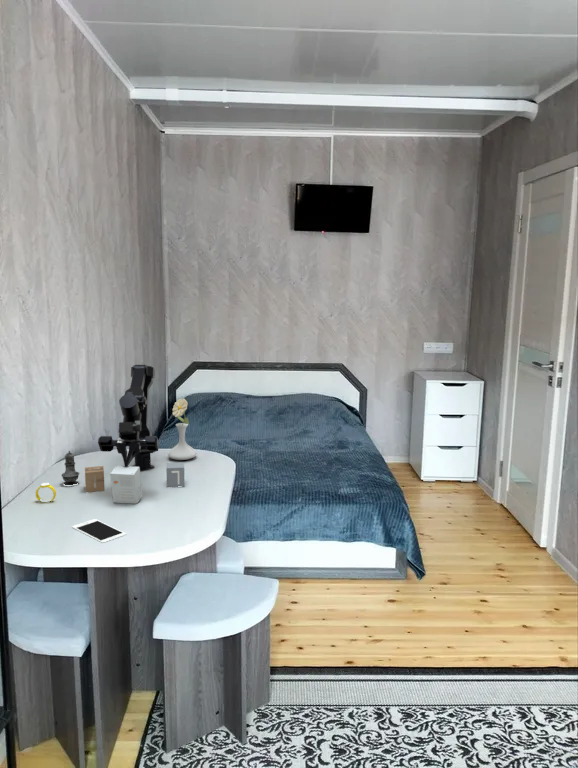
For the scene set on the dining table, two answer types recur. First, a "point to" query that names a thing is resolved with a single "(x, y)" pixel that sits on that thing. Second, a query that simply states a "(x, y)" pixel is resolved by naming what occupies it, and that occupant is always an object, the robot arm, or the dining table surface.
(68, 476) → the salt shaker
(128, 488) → the small box
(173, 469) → the slate block
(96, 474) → the brown cardboard box
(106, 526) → the cell phone
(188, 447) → the flower in vase
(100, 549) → the dining table surface
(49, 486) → the watch
